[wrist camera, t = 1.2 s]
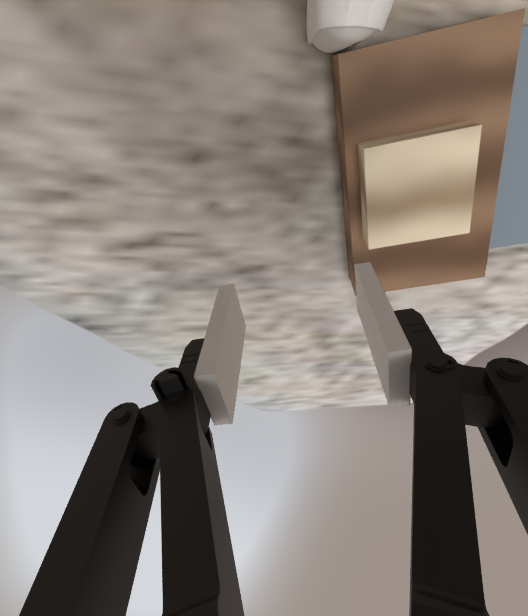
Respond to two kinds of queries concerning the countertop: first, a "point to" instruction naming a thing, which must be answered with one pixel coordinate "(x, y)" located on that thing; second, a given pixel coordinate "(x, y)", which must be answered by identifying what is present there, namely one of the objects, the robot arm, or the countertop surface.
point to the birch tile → (418, 184)
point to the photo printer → (344, 22)
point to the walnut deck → (423, 115)
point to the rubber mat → (514, 162)
